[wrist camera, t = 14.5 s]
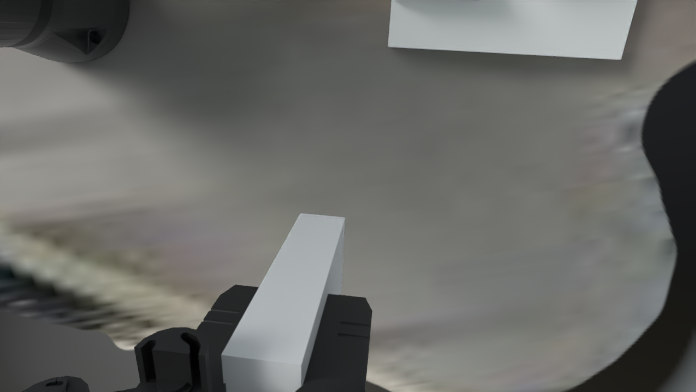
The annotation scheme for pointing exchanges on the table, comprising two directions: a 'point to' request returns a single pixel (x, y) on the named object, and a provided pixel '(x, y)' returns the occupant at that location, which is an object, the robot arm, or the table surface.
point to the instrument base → (514, 26)
